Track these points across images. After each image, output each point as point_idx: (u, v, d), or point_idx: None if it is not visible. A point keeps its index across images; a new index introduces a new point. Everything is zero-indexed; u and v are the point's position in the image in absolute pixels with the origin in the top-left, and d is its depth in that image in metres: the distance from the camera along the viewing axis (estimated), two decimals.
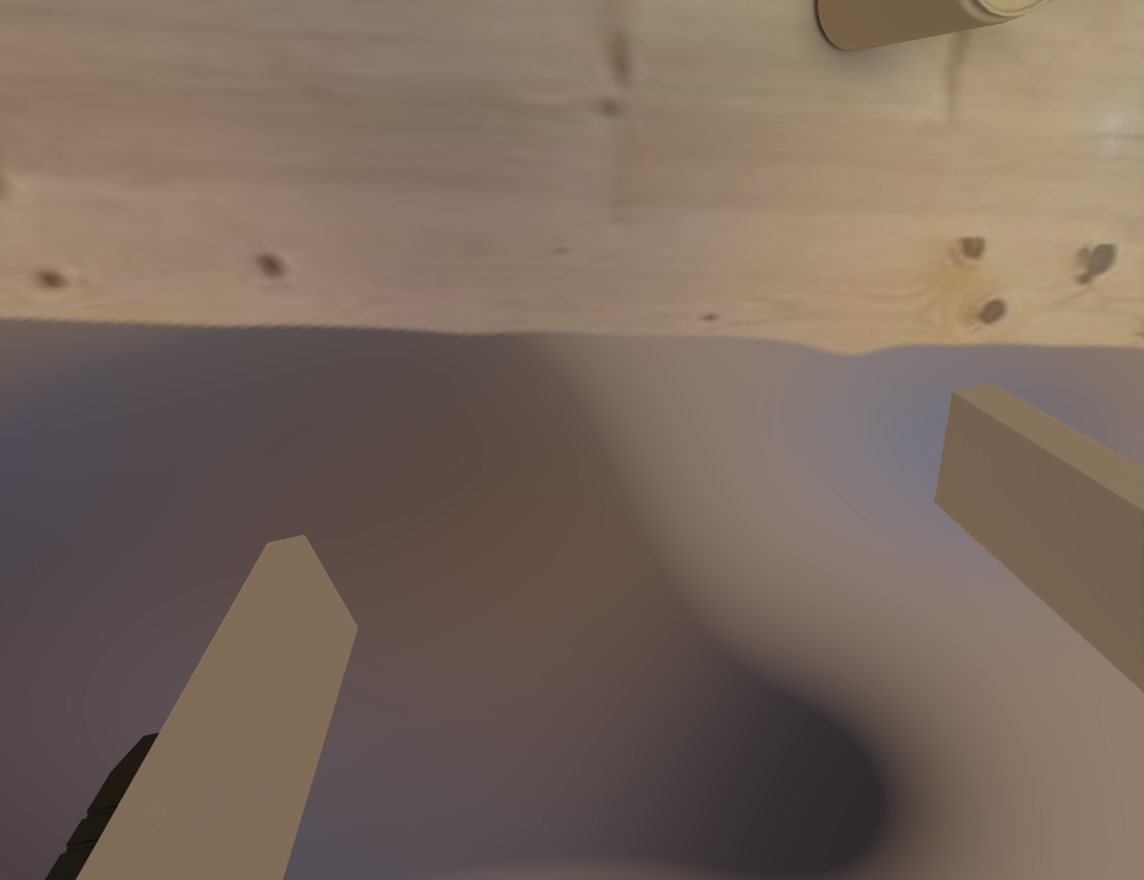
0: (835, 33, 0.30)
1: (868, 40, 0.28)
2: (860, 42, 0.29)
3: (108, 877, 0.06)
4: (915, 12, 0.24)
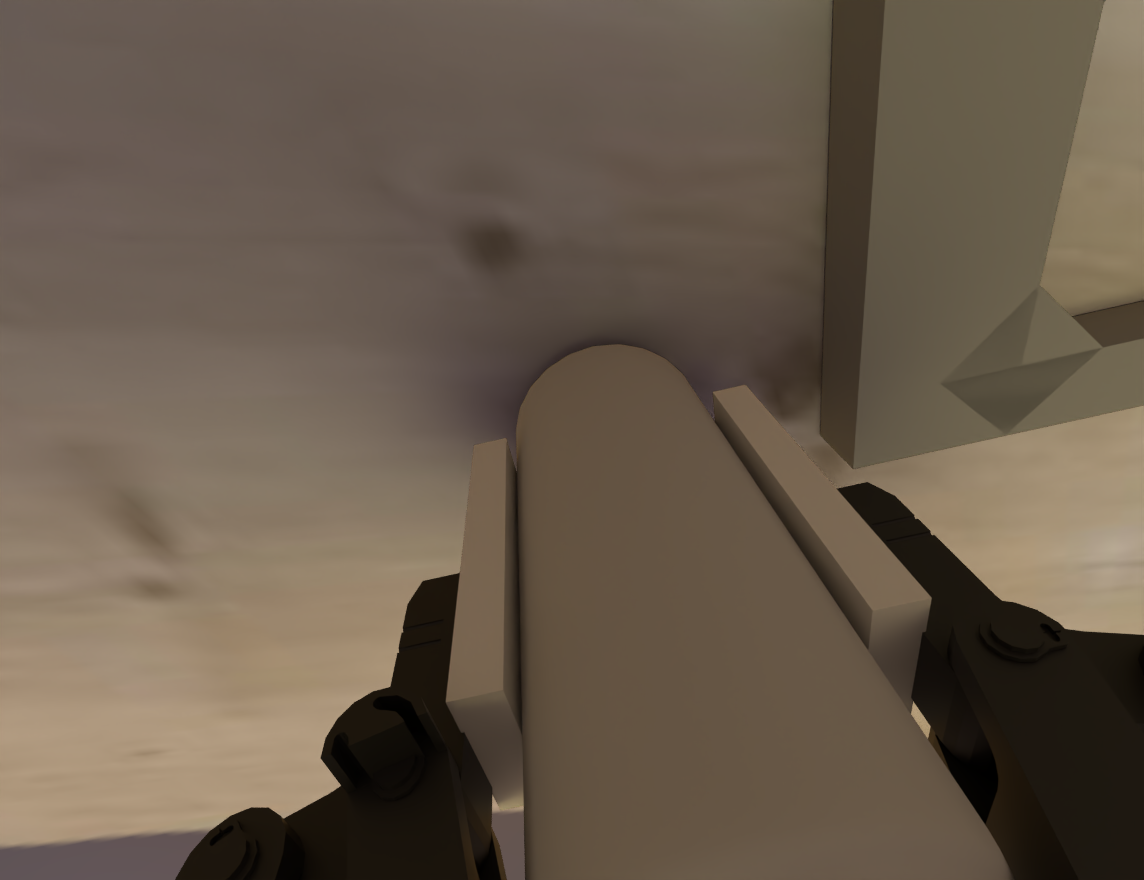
0: None
1: None
2: None
3: (481, 644, 0.08)
4: None
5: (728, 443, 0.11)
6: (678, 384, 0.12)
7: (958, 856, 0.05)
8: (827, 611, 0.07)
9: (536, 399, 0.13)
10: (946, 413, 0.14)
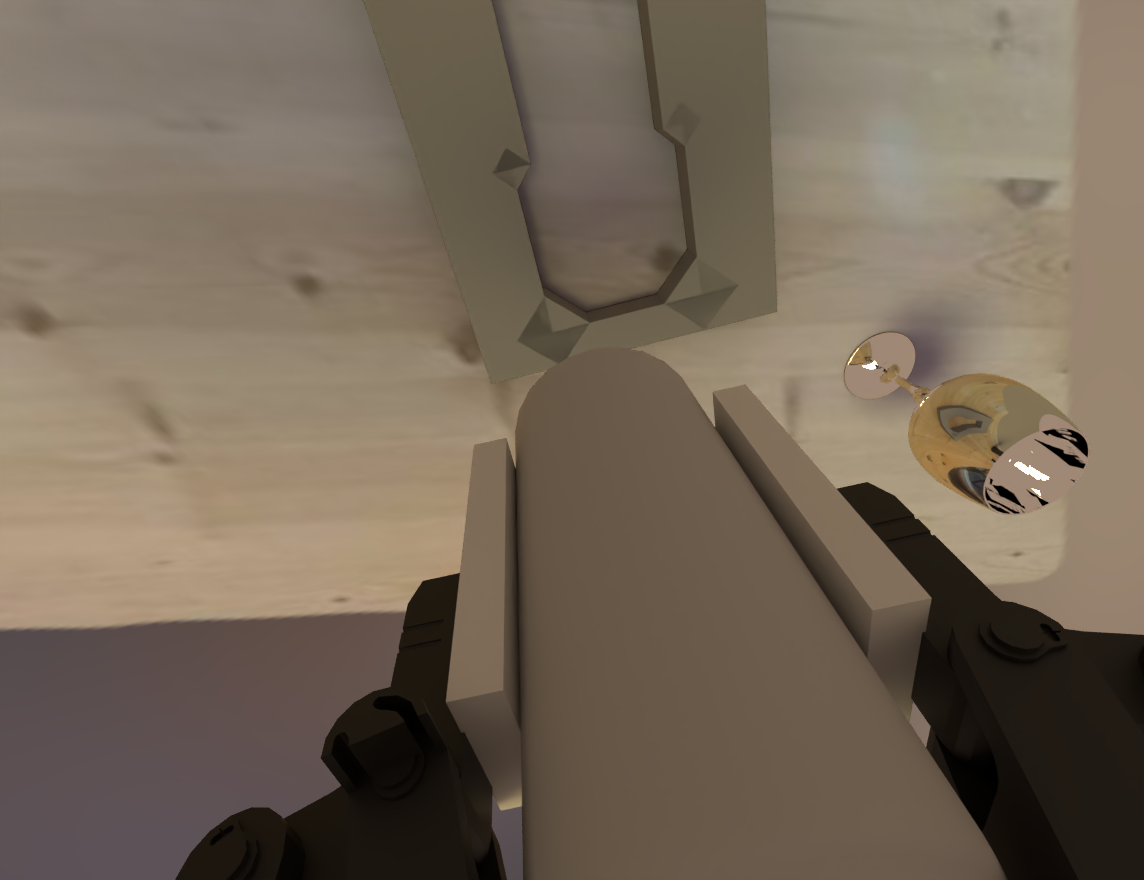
0: None
1: None
2: None
3: (481, 644, 0.08)
4: None
5: (726, 446, 0.11)
6: (677, 387, 0.12)
7: (952, 860, 0.05)
8: (824, 615, 0.07)
9: (535, 402, 0.13)
10: (526, 355, 0.30)
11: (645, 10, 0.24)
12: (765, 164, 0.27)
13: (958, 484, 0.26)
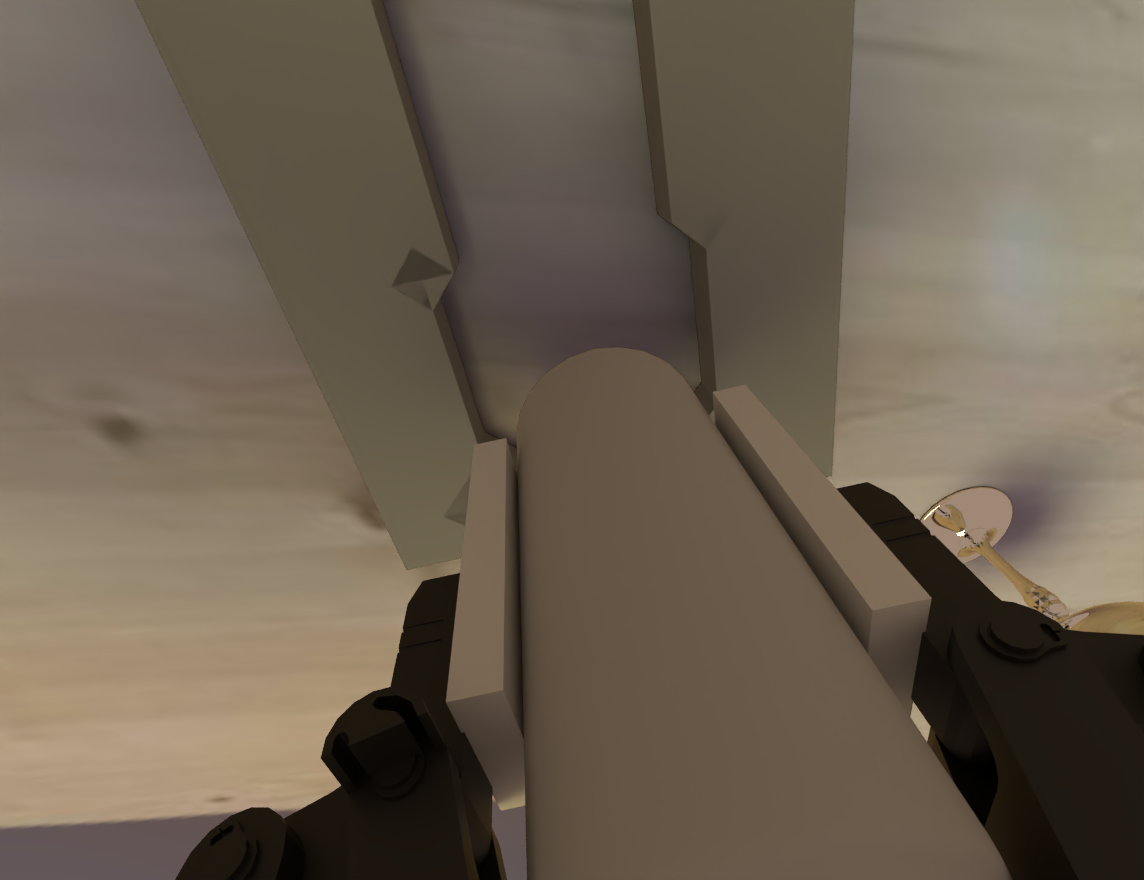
0: None
1: None
2: None
3: (481, 643, 0.08)
4: None
5: (728, 446, 0.11)
6: (678, 387, 0.12)
7: (958, 861, 0.05)
8: (828, 615, 0.07)
9: (537, 401, 0.13)
10: (458, 534, 0.20)
11: (647, 29, 0.14)
12: (831, 277, 0.17)
13: None
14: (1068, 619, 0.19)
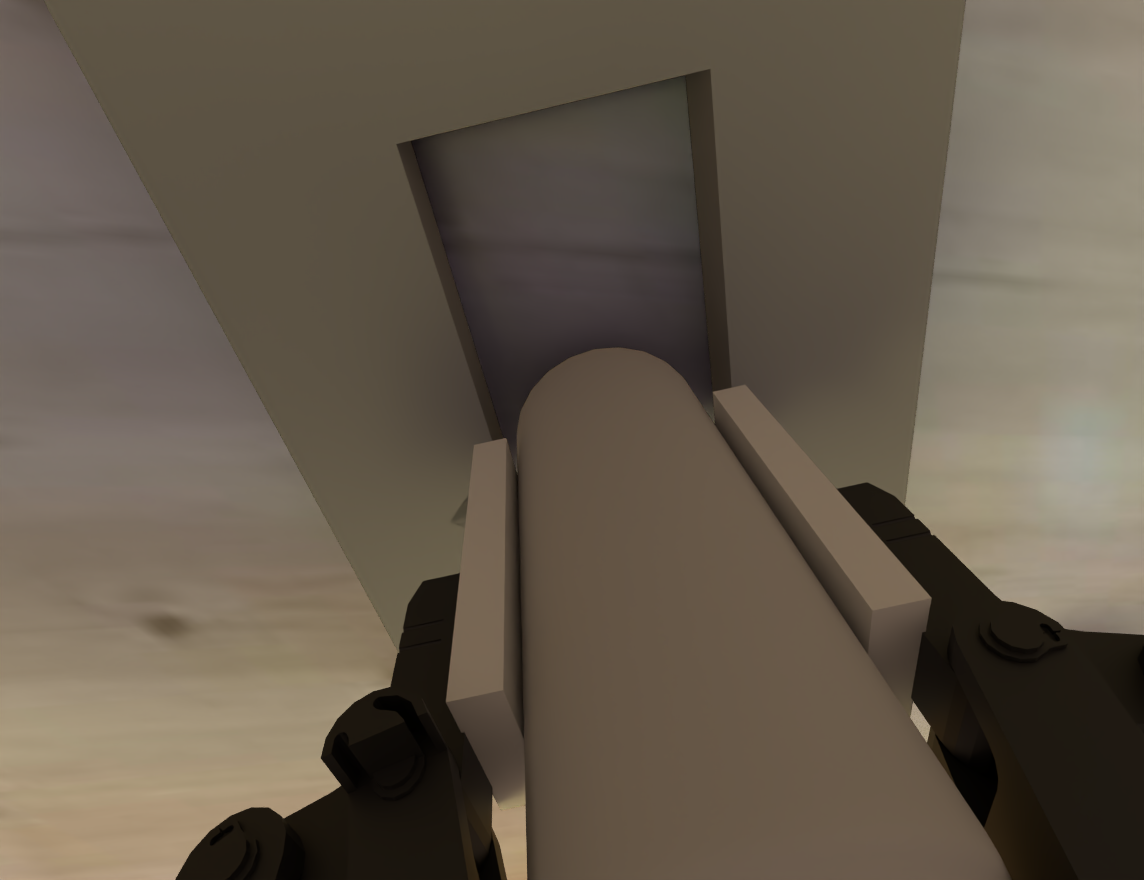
0: None
1: None
2: None
3: (481, 644, 0.08)
4: None
5: (728, 446, 0.11)
6: (678, 387, 0.12)
7: (957, 860, 0.05)
8: (827, 615, 0.07)
9: (537, 402, 0.13)
10: None
11: (718, 291, 0.14)
12: (895, 496, 0.16)
13: None
14: None
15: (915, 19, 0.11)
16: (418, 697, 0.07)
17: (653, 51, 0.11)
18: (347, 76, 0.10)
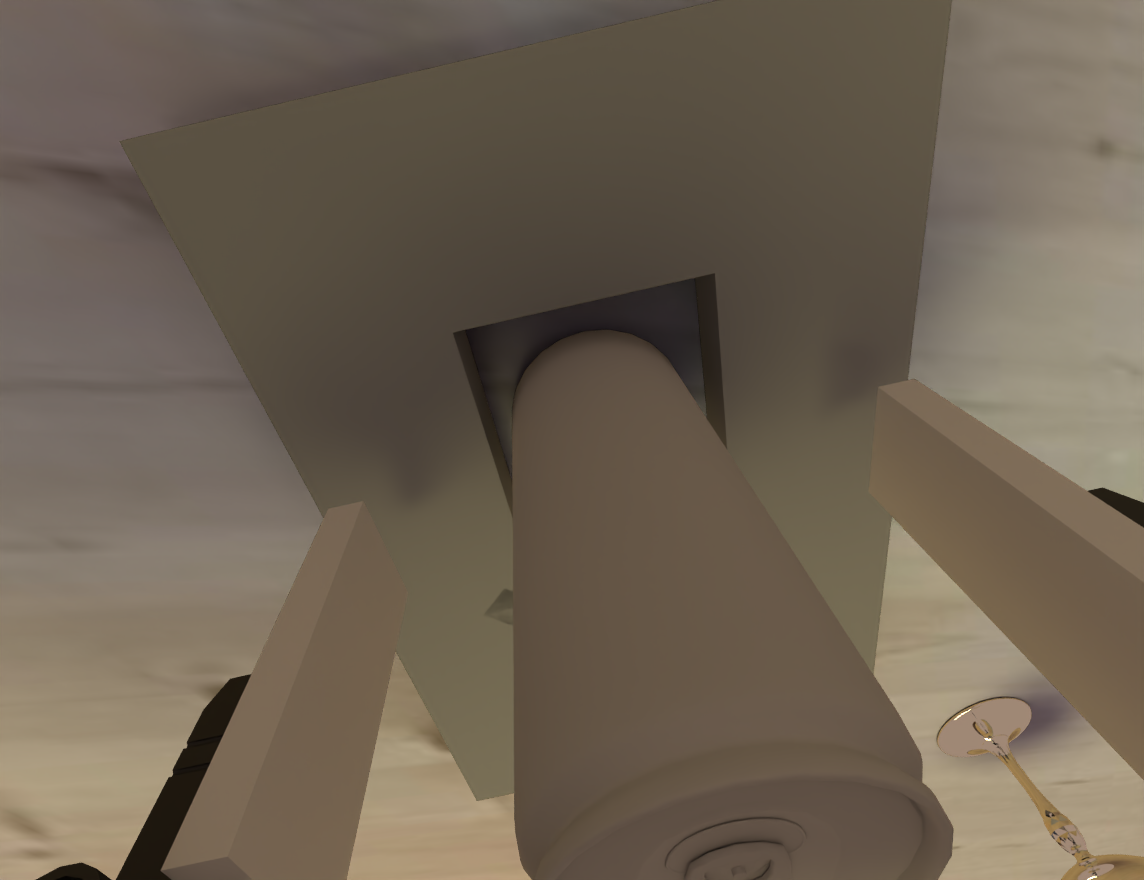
0: None
1: None
2: None
3: (229, 786, 0.07)
4: None
5: (705, 417, 0.12)
6: (661, 365, 0.13)
7: (864, 722, 0.06)
8: (777, 548, 0.08)
9: (530, 379, 0.14)
10: None
11: (720, 428, 0.16)
12: (874, 587, 0.19)
13: None
14: (1087, 872, 0.20)
15: (884, 234, 0.13)
16: (92, 869, 0.06)
17: (668, 262, 0.13)
18: (415, 285, 0.12)
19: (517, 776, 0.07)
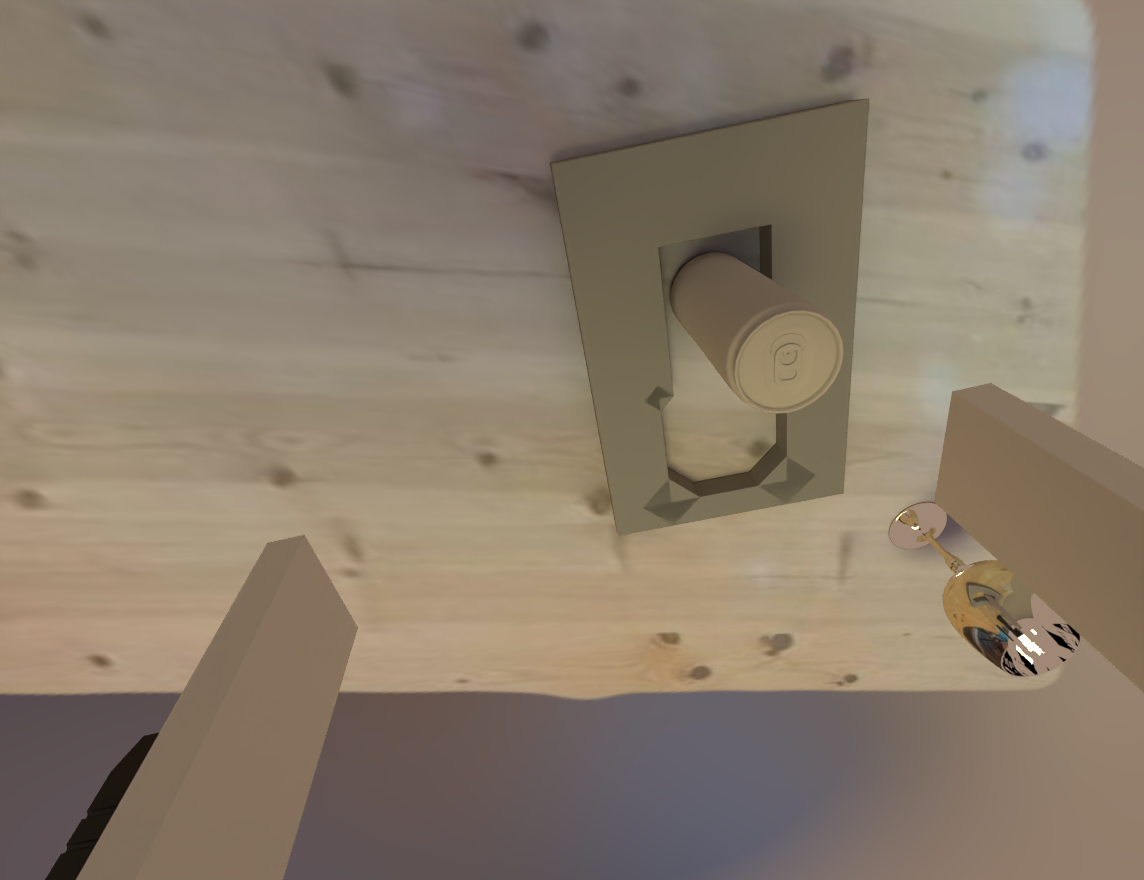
0: None
1: None
2: None
3: (108, 877, 0.06)
4: None
5: None
6: None
7: (820, 312, 0.23)
8: None
9: (685, 272, 0.32)
10: (648, 517, 0.39)
11: None
12: (844, 399, 0.36)
13: (982, 650, 0.35)
14: (961, 568, 0.37)
15: (844, 209, 0.30)
16: None
17: (752, 218, 0.30)
18: (647, 225, 0.30)
19: (725, 345, 0.24)
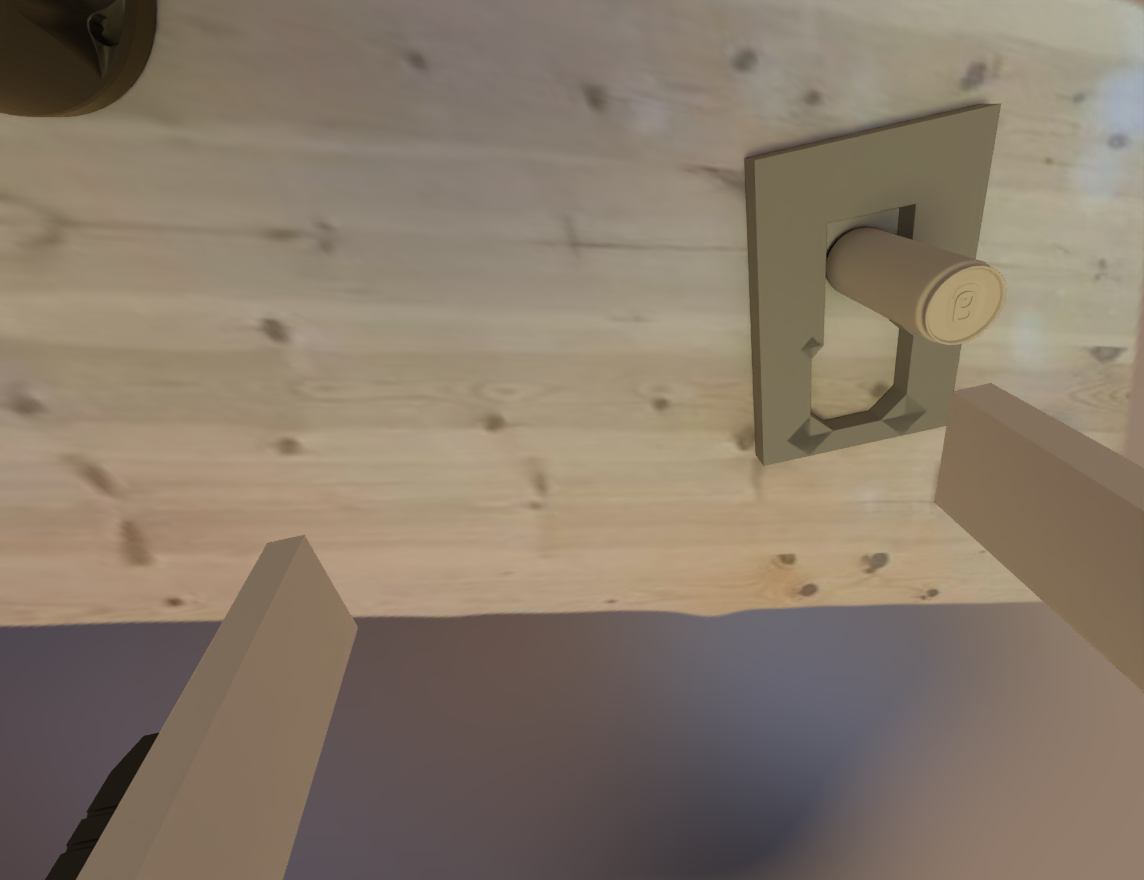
0: (838, 289, 0.41)
1: None
2: None
3: (108, 877, 0.06)
4: (893, 318, 0.35)
5: None
6: None
7: None
8: None
9: (844, 243, 0.40)
10: (789, 449, 0.48)
11: None
12: (957, 345, 0.44)
13: None
14: None
15: (973, 190, 0.38)
16: None
17: (901, 199, 0.38)
18: (820, 206, 0.38)
19: (914, 294, 0.32)
